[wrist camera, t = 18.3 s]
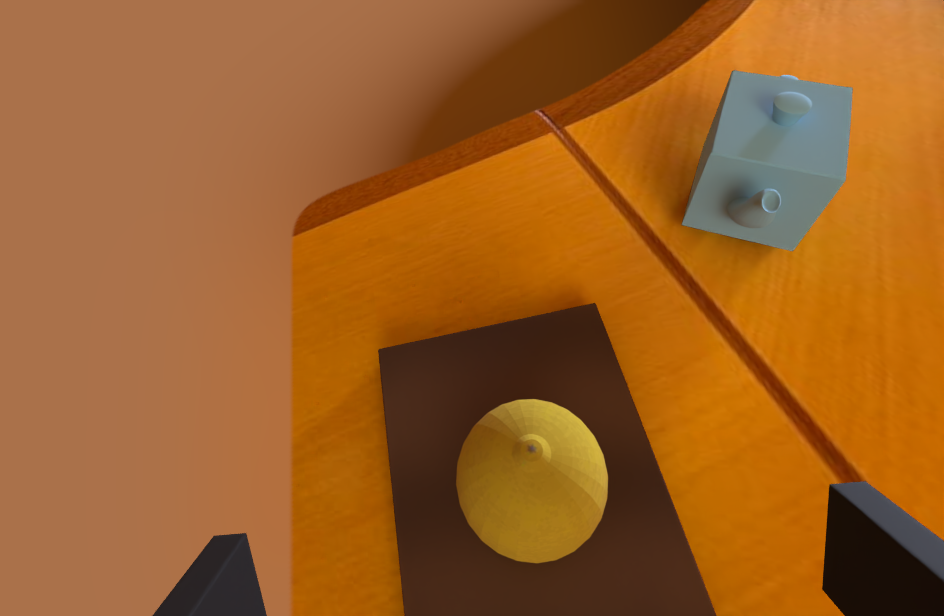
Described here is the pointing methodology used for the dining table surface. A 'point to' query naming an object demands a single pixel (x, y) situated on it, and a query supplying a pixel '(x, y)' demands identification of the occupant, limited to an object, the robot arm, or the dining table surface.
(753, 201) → the knobbed blue-grey cube
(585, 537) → the lemon
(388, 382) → the cutting board
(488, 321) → the dining table surface
